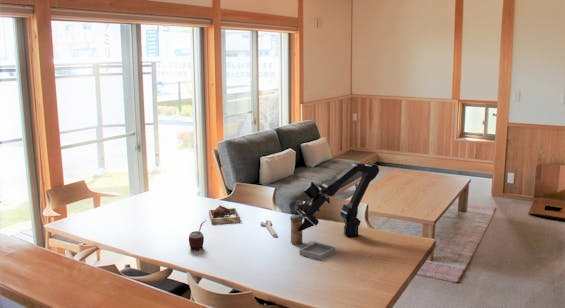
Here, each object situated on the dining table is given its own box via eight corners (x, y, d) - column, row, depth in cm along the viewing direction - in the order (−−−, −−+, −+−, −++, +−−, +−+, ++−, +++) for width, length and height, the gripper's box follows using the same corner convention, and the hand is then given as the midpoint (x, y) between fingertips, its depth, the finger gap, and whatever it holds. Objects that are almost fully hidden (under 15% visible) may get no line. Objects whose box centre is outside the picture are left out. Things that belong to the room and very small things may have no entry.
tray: (314, 246, 255) (314, 242, 255) (335, 252, 248) (335, 247, 248) (299, 254, 245) (299, 249, 245) (320, 260, 238) (320, 255, 238)
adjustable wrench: (278, 238, 269) (278, 234, 269) (265, 239, 268) (265, 235, 268) (270, 222, 294) (270, 219, 293) (259, 223, 293) (259, 220, 292)
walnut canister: (300, 240, 264) (300, 214, 262) (304, 244, 259) (304, 217, 256) (289, 241, 263) (289, 215, 261) (292, 245, 257) (292, 218, 255)
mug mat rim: (235, 212, 311) (235, 208, 311) (240, 221, 295) (239, 216, 294) (209, 214, 308) (208, 209, 307) (211, 224, 291) (211, 218, 291)
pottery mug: (210, 217, 305) (216, 204, 307) (225, 223, 307) (231, 210, 308) (212, 218, 294) (218, 204, 295) (228, 224, 295) (234, 211, 296)
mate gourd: (187, 247, 256) (186, 217, 253) (203, 245, 259) (202, 215, 256) (191, 252, 249) (190, 222, 247) (207, 250, 252) (206, 220, 250)
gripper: (297, 189, 266) (277, 213, 265) (312, 198, 249) (291, 224, 247) (311, 203, 271) (291, 226, 269) (327, 213, 254) (306, 238, 252)
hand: (294, 228), depth 259 cm, fingers open, 9 cm apart
